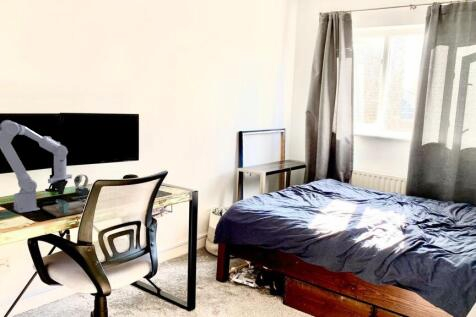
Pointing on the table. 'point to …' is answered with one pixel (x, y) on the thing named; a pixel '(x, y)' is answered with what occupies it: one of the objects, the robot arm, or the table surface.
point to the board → (53, 211)
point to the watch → (77, 181)
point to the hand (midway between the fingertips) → (60, 194)
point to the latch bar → (73, 205)
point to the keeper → (63, 205)
